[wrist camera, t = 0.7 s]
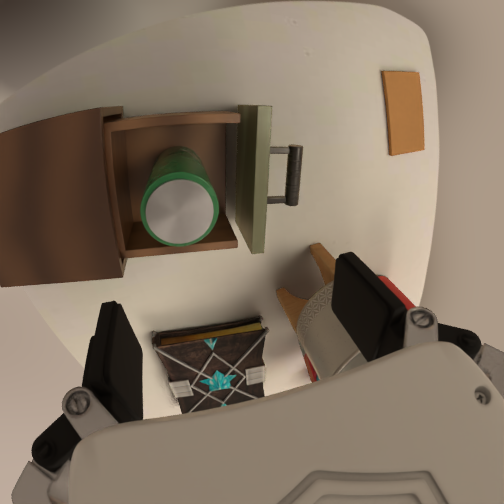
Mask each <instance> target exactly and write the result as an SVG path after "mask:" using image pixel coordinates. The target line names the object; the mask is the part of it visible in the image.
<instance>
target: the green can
mask: <svg viewBox="0 0 504 504" xmlns="http://www.w3.org/2000/svg"><path fill="white" fill-rule="evenodd" d="M218 214H219V202H218V198H217V195H216V193H215V191H214V188H213V186H212V184H211V182H210V179H209V177H208V175H207V173H206V170H205V168H204V166H203V163H202V161H201V159H200V157H199V156H198V154H197V153H196V152H194V151H193V150H192V149H190V148H187V147H184V146H173V147H170V148H167V149H166V150H164V151H163V152H161V153H160V154H159V155H158V157H157V158H156V160H155V162H154V165H153V167H152V170H151V173H150V176H149V179H148V182H147V185H146V188H145V191H144V194H143V197H142V201H141V205H140V215H141V220H142V223H143V225H144V227H145V229H146V230H147V232H148V233H149V234H150V235H151V236H152V237H153V238H154V239H156V240H157V241H159V242H161V243H163V244H166V245H169V246H176V247H180V246H188V245H191V244H194V243H196V242H198V241H200V240H202V239H203V238H204V237H206V236H207V235H208V234H209V233H210V231H211V230H212V229H213V227H214V226H215V223H216V221H217V218H218Z"/></svg>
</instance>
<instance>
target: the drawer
mask: <svg viewBox="0 0 504 504" xmlns="http://www.w3.org/2000/svg"><path fill="white" fill-rule="evenodd" d="M271 119H272V106H262V105H238V113H234V112H228V111H202V112H181V113H166V114H154V115H144V116H135V117H127V118H120V119H116V120H112V121H109V122H105V123H103V127H104V143H105V155H106V166H107V175H108V184H109V192H110V199H111V206H112V213H113V219H114V225H115V231H116V236H117V242H118V247H119V252H120V257H121V259H124V258H134V257H144V256H154V255H165V254H176V253H186V252H197V251H208V250H219V249H230V248H237V247H238V240H237V238H236V236H235V234H234V232H233V229H232V227H231V225H230V223H229V220H228V218H227V216H226V123H237V152H236V206H235V222H236V224H237V226H238V228H239V230H240V232H241V234H242V236H243V238H244V240H245V242H246V244H247V246H248V248H249V250H250V252H251V254H259V253H264V244H265V228H266V212H267V204H275V203H285V204H286V205H288V206H296V205H298V199H299V188H300V178H301V166H302V155H303V146H301V145H293V144H291V145H289V146H288V147H270V139H271ZM173 146H184V147H187V148H190V149H192V150H193V151H194V152H196V153H197V154H198V156H199V157H200V159H201V161H202V163H203V166H204V168H205V170H206V173H207V175H208V177H209V179H210V182H211V184H212V186H213V188H214V191H215V193H216V195H217V198H218V202H219V214H218V218H217V221H216V223H215V226H214V227H213V229H212V230H211V231H210V233H209V234H208V235H207V236H206V237H204V238H203V239H202V240H200V241H198V242H196V243H194V244H191V245H188V246H180V247H176V246H169V245H166V244H163V243H161V242H159V241H157V240H156V239H154V238H153V237H152V236H151V235H150V234H149V233H148V232H147V230H146V229H145V227H144V225H143V223H142V220H141V215H140V205H141V201H142V197H143V194H144V191H145V188H146V185H147V182H148V179H149V176H150V173H151V170H152V167H153V165H154V162H155V160H156V158H157V157H158V155H159V154H160V153H161V152H163V151H164V150H166V149H167V148H170V147H173ZM270 154H288V159H287V173H286V186H285V196H268V197H267V194H268V177H269V158H270Z"/></svg>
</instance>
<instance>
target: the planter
mask: <svg viewBox="0 0 504 504" xmlns="http://www.w3.org/2000/svg"><path fill="white" fill-rule="evenodd" d="M310 253H311V254H312V256H313V257H314V259H315V261H316V263H317V265H318V267H319V269H320V272H321V274H322V277H323V280H324V284H325V286H324V287H322V288H321V289H320V290H319V291H317V292H316V293H315V294H314V295H313V296H312V297H311V298H310V299H309V300H306V299H301V298H298V297H295V296H293V295H291V294H290V293H289V292H287V291H286V289H285V288H281V289H278V290H276V293H277V298H278V300H279V302H280V304H281V305H282V307H283V309H284V311H285V313H286V315H287V317H288V319H289V321H290V323H291V325H292V327H293V329H294V331H295V332H296V334H297V336H298V338H299V340H300V342H301V344H302V346H303V348H304V350H305V352H306V354H307V356H308V358H309V360H310V362H311V364H312V365H313V367H314V369H315V371H316V373H317V375H318V377H319V379H320V380H322V379H325V378H328V377H331V376H334V375H336V374H339V373H342V372H345V371H347V370H350V369H353V368H355V367H358V366H360V365H363V364H365V363H368V362H367V361H366V359H365V358H364V356H363V355H362V353H361V352H360V350H359V349H358V347H357V346H356V344H355V343H354V342H353V340H352V339H351V337H350V336H349V334H348V333H347V331H346V330H345V328H344V327H343V326H342V324H341V323H340V321H339V320H338V318H337V317H336V315H335V314H334V313H333V311H332V308H331V300H332V291H333V282H334V273H335V262H336V260H335V259H334V258H333V257H332V255H331V254H330V253H329V252H328V251H327V250H326V249H325V248H324V247H323V246H322V245H321V244H320V243H317V244H313V245H310Z"/></svg>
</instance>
